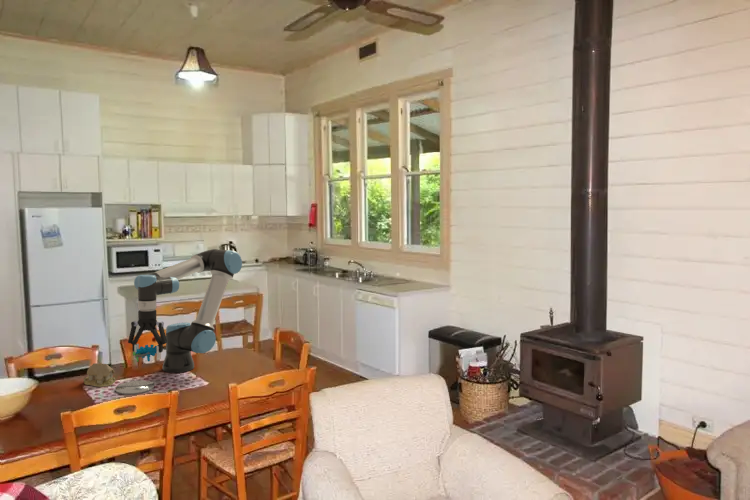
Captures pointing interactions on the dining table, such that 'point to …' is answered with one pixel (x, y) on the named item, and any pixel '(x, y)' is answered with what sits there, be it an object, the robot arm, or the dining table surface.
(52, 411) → the dining table surface
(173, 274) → the robot arm
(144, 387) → the hub plate
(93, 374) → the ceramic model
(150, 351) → the gear
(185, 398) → the dining table surface
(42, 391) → the dining table surface
